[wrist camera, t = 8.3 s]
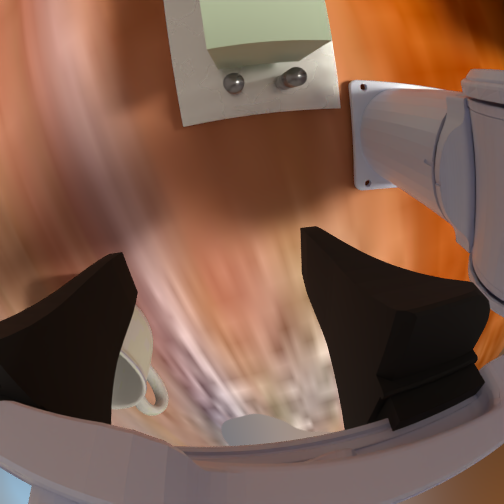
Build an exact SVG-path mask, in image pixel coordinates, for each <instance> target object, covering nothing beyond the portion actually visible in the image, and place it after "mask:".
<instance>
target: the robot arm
mask: <svg viewBox="0 0 504 504" xmlns="http://www.w3.org/2000/svg"><path fill="white" fill-rule="evenodd" d="M361 84H363V85H364V86H365V89H364V91H363V90H361V88H360V85H361ZM461 86H462V90H463V92H458V91H448V90H442V89H437V88H431V87H425V86H418V85H411V84H402V83H393V82H382V81H366V80H353V81H351V82H350V83H349V86H348V88H349V97H350V108H351V120H352V135H353V156H354V185H355V187H356V188H357V189H359V190H371V189H383V188H395V187H399V188H400V189H402V190H403V191H405V192H406V193H408V194H409V195H411V196H412V197H414V198H415V199H417V200H418V201H420V202H421V203H423V204H424V205H425V206H427V207H428V208H430V209H431V210H432V211H434V212H435V213H436V214H438V215H439V216H441V217H442V218H443V219H445V220H446V221H447V222H449V223H450V224H451V225H452V226H453V228H454V230H455V233H456V242H457V243H459V244H460V245H461V246H462V247H463V248H464V249H465V250H467V251H468V252H469V253H470V256H469V263H468V273H469V279H470V282H468V281H460V280H452V279H444V278H439V277H434V276H429V275H425V274H421V273H417V272H413V271H410V270H407V269H403V268H400V267H397V266H394V265H391V264H389V263H386V262H384V261H381V260H379V259H376V258H374V257H372V256H369V255H367V254H365V253H363V252H361V251H359V250H357V249H355V248H354V247H352V246H350V245H348V244H346V243H345V242H343V241H341V240H339V239H338V238H336V237H334V236H333V235H331V234H329V233H328V232H326V231H324V230H323V229H321V228H319V227H317V226H314V227H305V228H300V230H301V259H302V275H303V279H304V283H305V287H306V291H307V294H308V297H309V299H310V302H311V304H312V307H313V309H314V312H315V314H316V317H317V319H318V322H319V324H320V327H321V329H322V332H323V334H324V337H325V340H326V343H327V346H328V350H329V354H330V358H331V362H332V366H333V370H334V374H335V379H336V383H337V388H338V393H339V398H340V404H341V409H342V415H343V421H344V428H345V430H343V431H339V432H334V433H330V434H325V435H321V436H315V437H309V438H304V439H298V440H291V441H284V442H276V443H267V444H257V445H244V446H223V447H185V446H172V445H171V444H169V443H167V442H166V441H164V440H161V439H158V438H155V437H152V436H149V435H146V434H143V433H141V432H138V431H135V430H131V429H127V428H122V427H118V426H114V425H111V408H112V394H113V385H114V378H115V372H116V366H117V362H118V358H119V354H120V351H121V348H122V345H123V342H124V339H125V336H126V333H127V330H128V327H129V324H130V321H131V319H132V316H133V313H134V308H135V304H136V298H137V293H138V292H137V289H136V287H135V284H134V282H133V279H132V277H131V274H130V272H129V269H128V266H127V264H126V261H125V258H124V255H123V253H122V252H120V253H113V254H109V255H107V256H105V257H103V258H102V259H100V260H98V261H97V262H95V263H94V264H93V265H91V266H90V267H88V268H87V269H86V270H84V271H83V272H82V273H80V274H79V275H78V276H76V277H75V278H73V279H72V280H71V281H69V282H68V283H66V284H65V285H64V286H62V287H61V288H60V289H58V290H57V291H55V292H54V293H52V294H51V295H49V296H48V297H46V298H45V299H43V300H41V301H40V302H38V303H36V304H35V305H33V306H31V307H29V308H27V309H25V310H23V311H22V312H20V313H18V314H16V315H13V316H11V317H9V318H7V319H4V320H2V321H0V467H1V468H2V469H4V470H5V471H7V472H9V473H10V474H12V475H14V476H15V477H17V478H19V479H21V480H22V481H24V482H26V483H28V484H30V485H32V487H31V492H30V497H29V503H28V504H397V503H399V502H402V501H404V500H407V499H409V498H411V497H414V496H416V495H418V494H420V493H422V492H425V491H427V490H429V489H431V488H433V487H435V486H437V485H439V484H441V483H443V482H445V481H446V480H448V479H450V478H452V477H454V476H455V475H457V474H459V473H461V472H462V471H464V470H466V469H467V468H469V467H470V466H472V465H473V464H475V463H476V462H478V461H480V460H481V459H483V458H484V457H486V456H487V455H488V454H490V453H491V452H493V451H494V450H496V449H497V448H498V447H499V446H501V445H502V444H503V443H504V354H503V355H501V356H500V357H498V358H496V359H494V360H492V361H491V362H489V363H487V364H486V365H484V366H483V367H482V368H481V369H480V370H479V371H478V369H477V367H476V366H475V364H474V363H476V361H477V360H478V358H477V355H476V354H475V352H474V351H473V348H474V346H475V345H476V343H477V341H478V339H479V337H480V335H481V334H482V332H483V330H484V328H485V326H486V323H487V321H488V318H489V313H490V309H491V310H493V311H494V312H495V313H497V314H499V315H501V316H502V317H504V70H492V69H471V70H470V71H469V73H468V74H467V76H466V78H465V79H462V81H461ZM367 180H369V184H368V185H365V182H366V181H367Z"/></svg>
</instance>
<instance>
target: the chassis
mask: <svg viewBox="0 0 504 504" xmlns="http://www.w3.org/2000/svg"><path fill="white" fill-rule="evenodd" d="M164 9H165V16H166V24H167V31H168V39H169V46H170V52H171V59H172V65H173V71H174V78H175V84H176V90H177V95H178V101H179V107H180V112H181V118H182V123H183V127H186V126H191V125H195V124H200V123H206V122H211V121H216V120H222V119H228V118H235V117H241V116H249V115H256V114H264V113H274V112H284V111H296V110H310V109H334V108H341V106H340V96H339V87H338V79H337V71H336V64H335V57H334V50H333V44H332V41H330V42H329V43H327V44H325V45H324V46H322V47H320V48H319V49H317V50H316V51H314V52H312V53H311V54H309V55H308V56H306V57H305V58H303V59H302V60H300V61H298V62H279V63H266V64H256V65H247V66H239V67H232V68H226V69H219V70H218V69H217V67H216V65H215V63H214V61H213V60H212V58H211V56H210V54H209V52H208V51H207V47H206V41H205V34H204V28H203V21H202V14H201V7H200V1H199V0H164Z"/></svg>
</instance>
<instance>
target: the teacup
mask: <svg viewBox="0 0 504 504" xmlns="http://www.w3.org/2000/svg"><path fill="white" fill-rule="evenodd" d="M152 351H153V337H152V332H151V328H150V325H149V323H148V321H147V319H146V317H145V316H144V314H143V312H142V311H141V310H140V309H139V308H138V306H137V305H136V304H135V308H134V313H133V316H132V319H131V321H130V324H129V327H128V330H127V333H126V336H125V339H124V342H123V345H122V348H121V351H120V354H119V358H118V362H117V366H116V372H115V378H114V385H113V394H112V408H111V409H124V408H129V407H133V406H136V407H137V408H138V410H139V411H141V412H142V413H144V414H146V415H158V414H160V413H162V412H163V411H164V410H165V409H166V407H167V405H168V393H167V390H166V387H165V385H164V383H163V381H162V380H161V378H160V377H159V375H158V374H157V372H156V371H155V370H154V368H153V367H152V365H151V357H152ZM147 381H148V382H149V384H150V385H151V387H152V389H153V391H154V394H155V397H156V403H155V405H152V404H150V403H149V402H148V401H147V399H146V397H145V394H146V390H147V384H146V382H147Z"/></svg>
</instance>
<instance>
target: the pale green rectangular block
mask: <svg viewBox="0 0 504 504" xmlns="http://www.w3.org/2000/svg"><path fill="white" fill-rule="evenodd" d="M199 1H200V7H201V14H202V21H203V28H204V34H205V41H206V47H207V51H208V52H209V54H210V56H211V58H212V60H213V61H214V63H215V65H216V67H217V69H218V70H219V69H226V68H232V67H239V66H247V65H256V64H266V63H279V62H298V61H300V60H302V59H303V58H305V57H306V56H308V55H309V54H311V53H312V52H314V51H316V50H317V49H319V48H320V47H322V46H324V45H325V44H327V43H329V42H330V41H332V36H331V30H330V25H329V20H328V15H327V10H326V5H325V0H199Z"/></svg>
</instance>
